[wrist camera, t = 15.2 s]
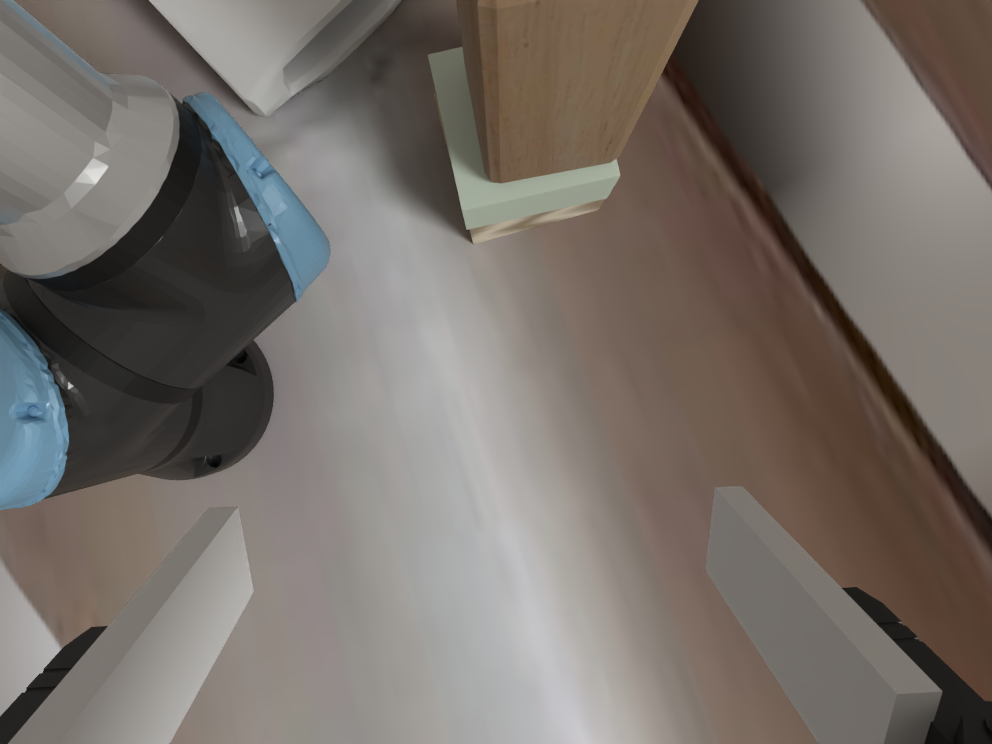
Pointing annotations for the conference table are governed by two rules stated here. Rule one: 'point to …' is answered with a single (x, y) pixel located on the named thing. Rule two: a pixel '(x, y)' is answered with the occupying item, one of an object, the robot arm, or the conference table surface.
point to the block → (562, 77)
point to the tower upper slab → (474, 187)
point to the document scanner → (274, 41)
